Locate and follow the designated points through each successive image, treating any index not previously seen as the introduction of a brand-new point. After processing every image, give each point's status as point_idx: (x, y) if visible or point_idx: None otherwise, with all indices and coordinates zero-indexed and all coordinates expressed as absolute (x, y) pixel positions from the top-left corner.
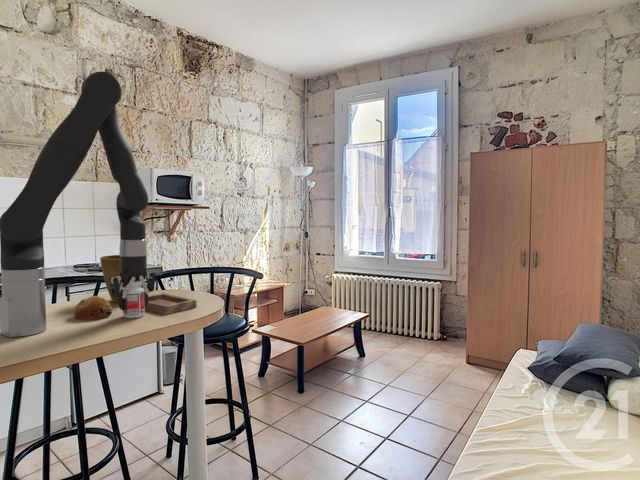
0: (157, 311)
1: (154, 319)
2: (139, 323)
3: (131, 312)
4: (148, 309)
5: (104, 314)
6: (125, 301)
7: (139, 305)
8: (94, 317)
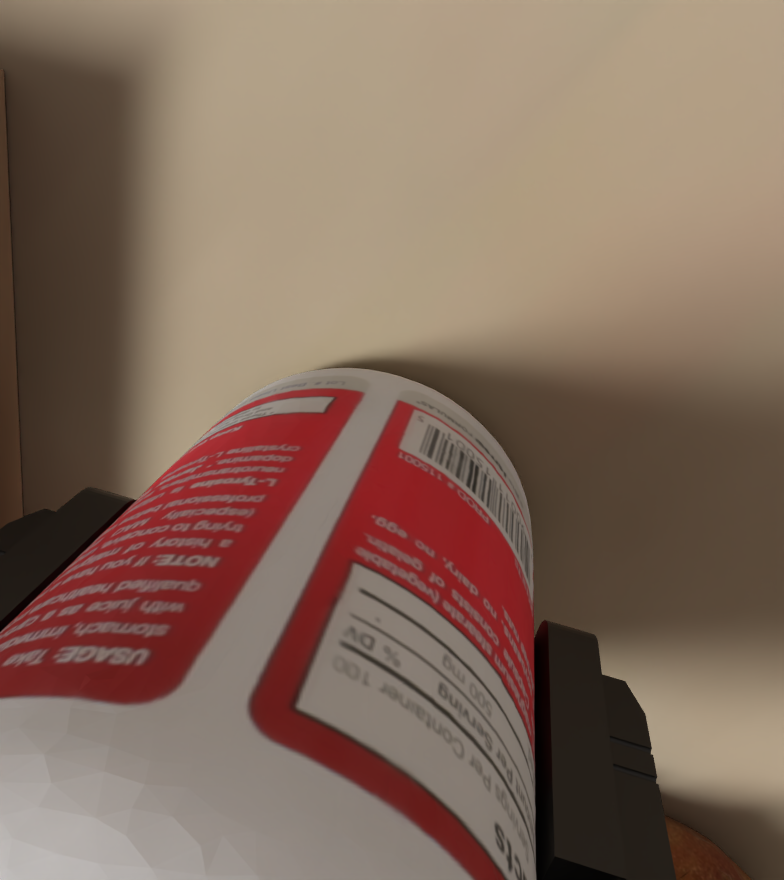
0: (1, 340)
1: (357, 4)
2: (739, 62)
3: (507, 500)
4: None
5: None
6: (582, 778)
7: (349, 468)
8: (742, 877)
